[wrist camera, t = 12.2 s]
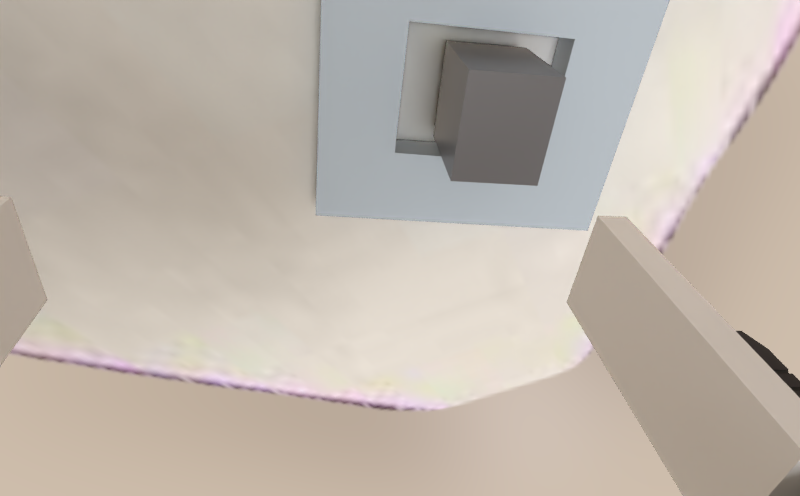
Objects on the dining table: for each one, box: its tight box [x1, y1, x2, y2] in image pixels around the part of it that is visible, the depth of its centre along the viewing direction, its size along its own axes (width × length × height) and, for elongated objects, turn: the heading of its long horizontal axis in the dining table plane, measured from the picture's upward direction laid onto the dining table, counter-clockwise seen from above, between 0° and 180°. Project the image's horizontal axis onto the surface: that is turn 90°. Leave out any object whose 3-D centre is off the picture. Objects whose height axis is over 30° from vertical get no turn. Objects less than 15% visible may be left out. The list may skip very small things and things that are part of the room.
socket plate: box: [316, 0, 670, 231], centre depth 33 cm, size 20×18×2 cm
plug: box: [433, 41, 566, 186], centre depth 30 cm, size 5×6×8 cm
